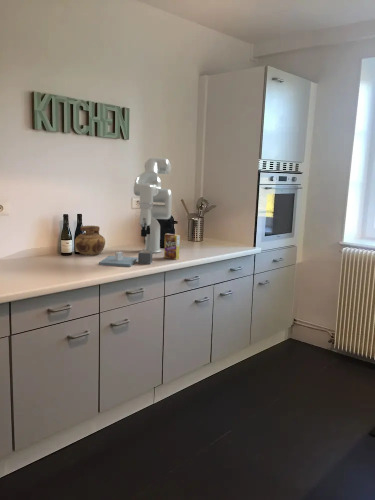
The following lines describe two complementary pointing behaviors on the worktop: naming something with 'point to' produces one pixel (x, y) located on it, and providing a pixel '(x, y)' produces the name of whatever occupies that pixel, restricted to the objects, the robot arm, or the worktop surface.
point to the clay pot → (90, 241)
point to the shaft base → (118, 260)
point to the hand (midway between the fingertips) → (145, 235)
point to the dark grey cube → (145, 257)
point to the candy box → (172, 246)
